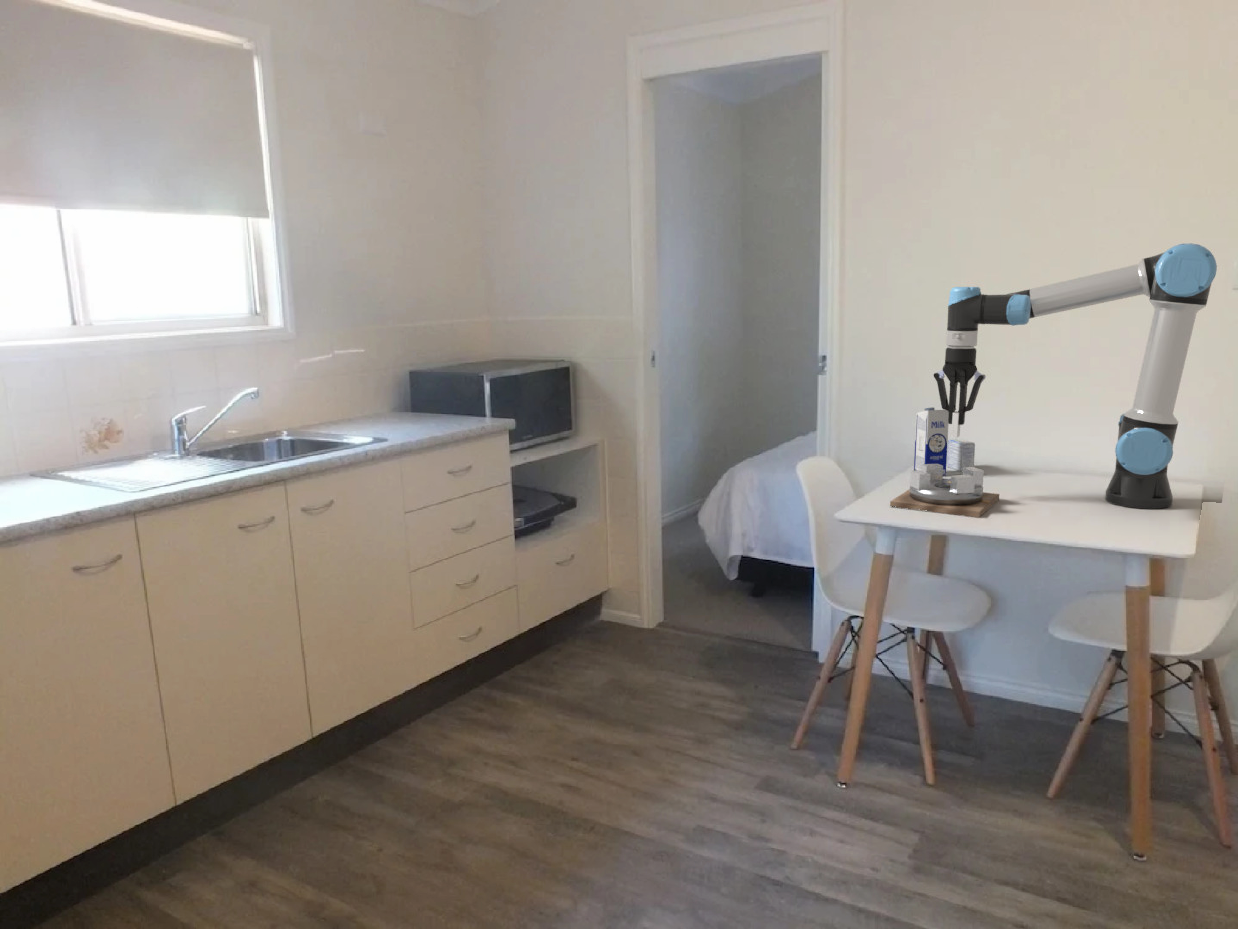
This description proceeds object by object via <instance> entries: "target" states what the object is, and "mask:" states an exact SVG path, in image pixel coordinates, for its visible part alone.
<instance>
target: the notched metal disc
mask: <svg viewBox="0 0 1238 929" xmlns="http://www.w3.org/2000/svg"><path fill="white" fill-rule="evenodd" d="M909 472H910V473H909V474H910V475H909V489H910V497H911V498H913V499H915V500H918V501H921V502H926V503H932V504H941V505H968V504H975V503H978V502H981V501H982V499H983V492H984V486H983V485H984V474H985V473H984V472H985V471H984V469H980V468H977V467H975V466H974V467H964V468H963V471H962V474H958V475H951V476H950V478H943V476H944V475H943V465H940V464H923V465H921V470H915V471H914V470H910V471H909Z"/></svg>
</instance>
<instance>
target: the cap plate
mask: <svg viewBox="0 0 1238 929" xmlns="http://www.w3.org/2000/svg"><path fill="white" fill-rule="evenodd" d="M999 500H1000V493H994V492H984V491H983V499H982V501H981V502H978V503H975V504H968V505H941V504H932V503H926V502H921V501H918V500H915V499H913V498H911V497H910V488H908V490H905V491H904V492H903V493H901V494H900V495H898V496H897V497H895V498H893V499H892V500H890V501H889V502H890V504H889V507H890V506H896V507H901V508H900V509H902V508H908V509H907V510H911V509H920V510H927V511H932V512H931V513H936V512H940V513H939V514H944V513H947V514H946V515H952V514H953V515H954V516H961V515H965V516H964V517H969V516H971V517H970V518H981V516H983V515H984V514H985V513H986V512H987V511H988V510H989V509H990V508H991V507H993V506H994V505H995V504H996V503H998V502H999ZM927 511H926V512H927Z"/></svg>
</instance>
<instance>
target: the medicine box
mask: <svg viewBox="0 0 1238 929" xmlns="http://www.w3.org/2000/svg"><path fill="white" fill-rule="evenodd" d="M975 447H976V443H975V442H973V441H969V440H965V439H962V438H955V439H953V438H952V439H948V443H947V463H946V467H947V466H948V467H947V468H950V469H953V470H957V471H958V472H959V471H960V472H963V468H964V467H975V457H976V456H975V452H976V450H975V449H976V448H975Z"/></svg>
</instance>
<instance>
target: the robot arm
mask: <svg viewBox="0 0 1238 929" xmlns="http://www.w3.org/2000/svg"><path fill="white" fill-rule="evenodd" d="M1217 267H1218V265H1217V261H1216V258H1215V257H1214V255H1213V253H1212V252H1211V251H1210V250H1209V249H1208V248H1206V247H1205V246H1203V245H1200V244H1196V243H1179V244H1177V245H1174V246H1172V247H1170V248H1168V249H1167V250H1165V251H1164V252H1161V253H1159V254H1156V255H1153V256H1149V257H1145V258H1142V259H1141V260H1140V261H1139V262H1138V263H1137V264H1133V265H1129V266H1125V267H1119V268H1116V269H1111V270H1106V271H1103V272H1098V273H1093V274H1090V275H1089V274H1088V275H1086V276H1081V277H1077V278H1073V279H1067V280H1063V281H1059V282H1055V283H1050V284H1046V285H1041V286H1038V287H1034V288H1029V289H1025V290H1020V291H1015V292H1010V293H1007V294H984V293H983V294H982V292H981V288H980V287H979V286H955V287H952V288H951V289H950V291H949V298H948V305H947V324H946V326H947V328H946V339H945V340H946V341H945V342H946V343H945V344H946V346H947V348H945V357H944V365H943V367H942V369H941V370H939V371H937V372H934V373H933V378H934V379H935V381H936V383H937V384H936V385H937V388H938V395H939V400H940V405H941V410H947V411H948V412H949V418H948V423H949V424H948V425H951V432H950V435H951V436H950V437H951V438H955V439H958V438H959V437H960V436H961V434H960V433H961V426H962V425H964V424H965V419H966V413H967V412H970V411H972V410H973V409H974V407H975V403H976V400H977V397H978V394H979V390H980V387H981V385H982V382H984V380H985V379H986V376H987V375H985V374H982V373H981V372H980V371H978V367H977V365H976V361H977V349H976V346H978V332H979V330H978V329H979V325H999V326H1000V325H1001V326H1002V325H1003V326H1005V325H1007V326H1022V325H1027V324H1028V323H1029V321H1030V319H1034V318H1037V317H1043V316H1047V315H1052V314H1057V313H1062V312H1067V311H1071V310H1075V309H1080V308H1085V307H1091V306H1094V305H1099V304H1103V303H1108V302H1114V301H1119V300H1122V299H1127V298H1134V297H1137V296H1142V295H1145V296H1146V297H1148V299H1149V302H1150V304H1151V305H1152V306H1153V308H1154V310H1153V315H1152V317H1151V318H1152V319H1151V322H1150V323H1151V324H1150V326H1149V327H1150V328H1149V331H1148V332H1149V333H1148V338H1147V342H1146V346H1145V351H1144V356H1143V360H1142V364H1141V367H1140V368H1141V369H1140V373H1139V376H1138V377H1139V378H1138V381H1137V382H1138V383H1137V387H1136V391H1135V394H1134V400H1133V404H1132V407H1131V409H1129V410H1128V411H1125V412H1124V413H1122V414H1121V415H1120V416H1119V417H1120V418H1119V421H1118V432H1117V434H1118V435H1117V443H1115V444H1116V445H1115V449H1114V450H1115V451H1114V452H1115V457H1116V459H1115V468H1114V472H1113V474H1112V477H1111V478H1110V479H1111V480H1110V481H1109V483H1108V486H1107V488H1106V490H1105V497H1104V500H1105V501H1106V502H1108V503H1110V504H1113V505H1117V506H1122V507H1127V508H1135V509H1150V510H1151V509H1165V508H1170V507H1172V506H1173V493H1172V489H1171V486H1170V482H1169V481H1170V480H1169V479H1168V467H1169V464H1170V462H1171V461H1172V458H1173V454H1174V447H1173V446H1174V443H1175V438H1176V433H1177V430H1178V425H1179V421H1178V419H1177V418H1176V417H1175V416H1174V410H1175V406H1176V401H1177V397H1178V393H1179V390H1180V389H1179V388H1180V385H1181V381H1182V377H1183V372H1184V368H1185V365H1186V364H1185V363H1186V359H1187V355H1188V350H1189V346H1190V343H1191V337H1192V334H1193V330H1194V324H1195V322H1196V317H1197V313H1198V312H1199V311H1201V310H1202V309H1204V308H1205V307H1207V303H1208V299H1209V295H1210V290H1211V288H1212V283H1213V281H1214V280H1215V277H1216V274H1217V270H1218V269H1217ZM945 377H946V378H947V379H948V381H949V396H948V395H947V394H948V393H947V388H946V383H945V380H944V378H945ZM973 377H974V378H973ZM972 378H973V379H974V383H973V386H972V389H971V392H970V395H969V398H967V396H968V386H969V385H968V384H969V382H970V381H971V379H972ZM958 385H959V398H958V399H959V400H958V410H957V394H958V393H957V392H958ZM967 399H968V402H967ZM956 410H957V411H956Z"/></svg>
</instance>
